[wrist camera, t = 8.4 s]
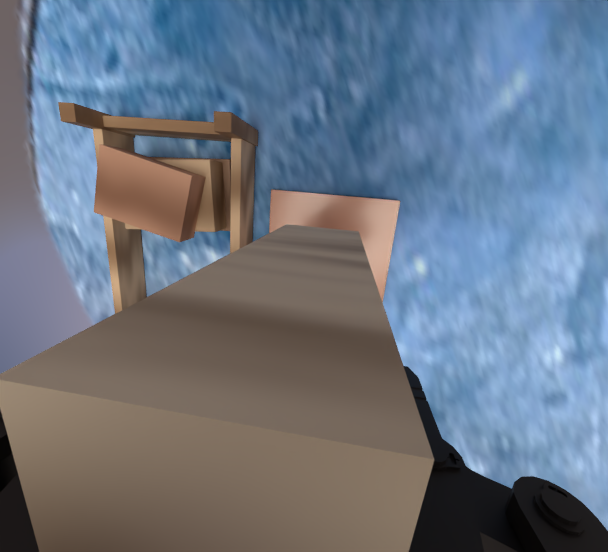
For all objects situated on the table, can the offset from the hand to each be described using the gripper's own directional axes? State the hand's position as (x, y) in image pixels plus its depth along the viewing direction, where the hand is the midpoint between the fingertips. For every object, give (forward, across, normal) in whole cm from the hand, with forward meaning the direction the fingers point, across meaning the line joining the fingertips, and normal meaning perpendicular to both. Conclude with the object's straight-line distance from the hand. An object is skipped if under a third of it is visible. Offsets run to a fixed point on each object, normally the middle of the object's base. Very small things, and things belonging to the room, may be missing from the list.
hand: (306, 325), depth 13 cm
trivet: (+14, 0, 0) cm, 14 cm away
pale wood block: (+4, 0, 0) cm, 4 cm away
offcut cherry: (+10, -14, +5) cm, 18 cm away
